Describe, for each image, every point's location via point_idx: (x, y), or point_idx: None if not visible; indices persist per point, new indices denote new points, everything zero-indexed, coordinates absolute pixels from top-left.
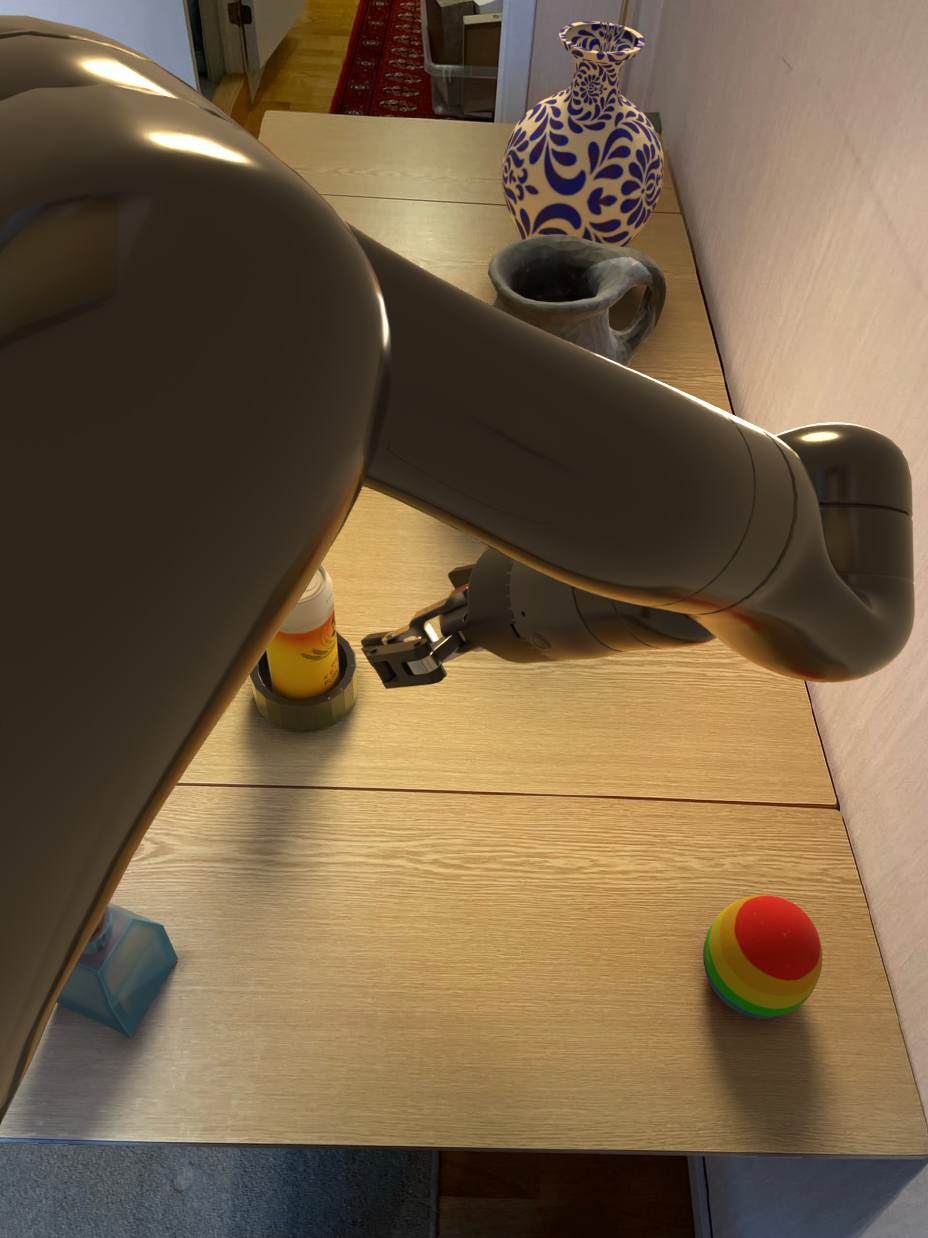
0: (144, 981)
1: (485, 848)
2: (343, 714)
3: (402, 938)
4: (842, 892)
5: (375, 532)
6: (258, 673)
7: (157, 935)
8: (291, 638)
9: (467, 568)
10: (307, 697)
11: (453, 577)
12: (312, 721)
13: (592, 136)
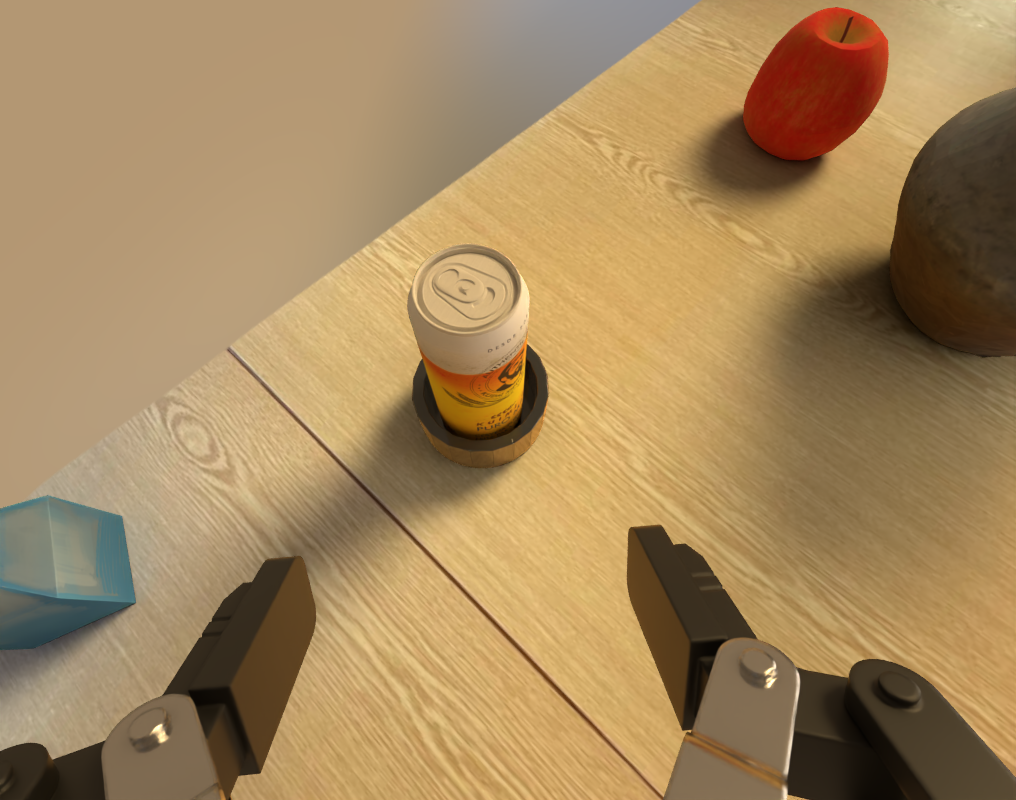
0: (36, 626)
1: (499, 765)
2: (491, 465)
3: (322, 792)
4: None
5: (695, 283)
6: None
7: (45, 604)
8: (430, 364)
9: (671, 597)
10: (454, 427)
11: (635, 547)
12: (448, 453)
13: None
